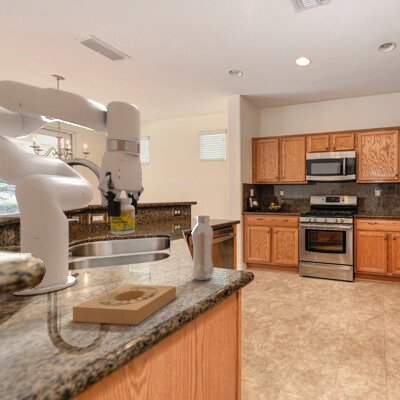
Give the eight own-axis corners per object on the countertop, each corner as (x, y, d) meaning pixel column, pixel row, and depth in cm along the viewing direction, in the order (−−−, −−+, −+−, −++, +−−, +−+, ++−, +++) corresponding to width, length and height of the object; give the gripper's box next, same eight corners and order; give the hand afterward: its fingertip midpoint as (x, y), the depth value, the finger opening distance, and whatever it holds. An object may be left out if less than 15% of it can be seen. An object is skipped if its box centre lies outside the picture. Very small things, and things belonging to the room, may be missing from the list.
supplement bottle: (137, 231, 73) (138, 198, 72) (130, 234, 67) (130, 198, 67) (116, 231, 71) (116, 197, 71) (106, 234, 66) (107, 197, 66)
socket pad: (72, 321, 52) (72, 306, 52) (124, 295, 66) (124, 284, 66) (136, 324, 51) (136, 310, 51) (175, 297, 65) (175, 286, 65)
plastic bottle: (206, 283, 76) (207, 217, 76) (186, 281, 78) (187, 216, 77) (217, 276, 83) (218, 215, 82) (199, 275, 84) (199, 215, 84)
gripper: (133, 154, 78) (132, 213, 78) (81, 142, 61) (81, 218, 61) (156, 155, 77) (155, 214, 78) (111, 142, 60) (110, 218, 60)
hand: (123, 215), depth 69 cm, fingers closed on supplement bottle, 5 cm apart
